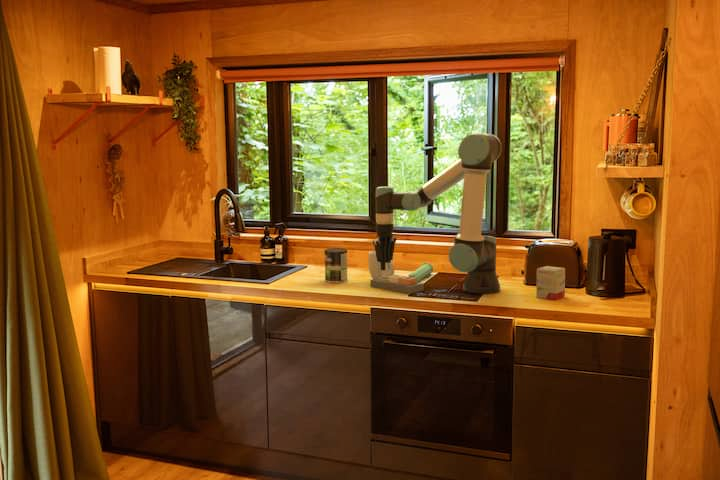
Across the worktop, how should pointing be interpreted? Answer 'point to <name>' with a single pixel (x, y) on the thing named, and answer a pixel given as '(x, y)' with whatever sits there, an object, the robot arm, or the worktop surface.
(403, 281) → the tile terracotta
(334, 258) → the coffee can
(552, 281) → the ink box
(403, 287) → the socket board
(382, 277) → the tile sage
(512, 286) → the worktop surface
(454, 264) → the robot arm
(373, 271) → the mug
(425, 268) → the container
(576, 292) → the worktop surface
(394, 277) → the tile cream
